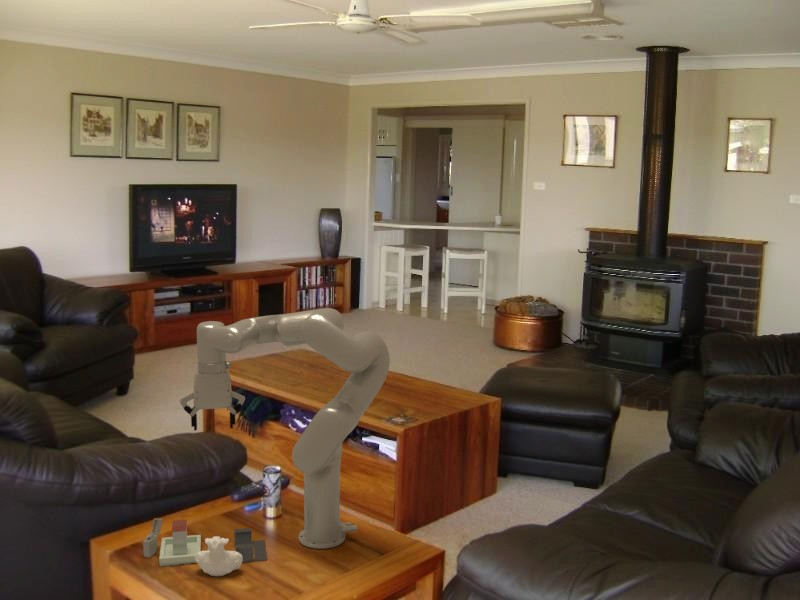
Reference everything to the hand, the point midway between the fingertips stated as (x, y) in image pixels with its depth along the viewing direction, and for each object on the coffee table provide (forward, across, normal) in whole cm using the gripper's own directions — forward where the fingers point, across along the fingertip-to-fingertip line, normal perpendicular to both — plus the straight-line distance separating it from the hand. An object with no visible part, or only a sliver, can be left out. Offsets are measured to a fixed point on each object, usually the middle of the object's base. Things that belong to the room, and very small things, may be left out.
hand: (213, 427), depth 236 cm
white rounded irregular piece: (+29, 0, +28) cm, 40 cm away
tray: (+28, +9, +16) cm, 34 cm away
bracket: (+28, -9, +18) cm, 35 cm away
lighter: (+28, +16, +13) cm, 35 cm away
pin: (+28, +9, +16) cm, 33 cm away
